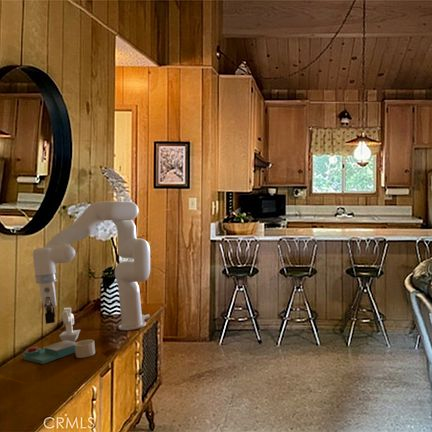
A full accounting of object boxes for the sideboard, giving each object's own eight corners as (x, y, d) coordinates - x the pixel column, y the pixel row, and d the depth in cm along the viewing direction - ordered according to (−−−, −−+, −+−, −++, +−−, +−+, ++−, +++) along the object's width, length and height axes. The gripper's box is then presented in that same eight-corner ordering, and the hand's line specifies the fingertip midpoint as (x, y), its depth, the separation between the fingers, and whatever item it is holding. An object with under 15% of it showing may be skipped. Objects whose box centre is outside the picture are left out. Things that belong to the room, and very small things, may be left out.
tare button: (34, 349, 201) (34, 345, 201) (39, 350, 199) (38, 346, 199) (26, 352, 198) (26, 348, 198) (31, 353, 196) (30, 349, 196)
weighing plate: (66, 348, 208) (65, 339, 208) (80, 351, 203) (79, 342, 203) (43, 355, 200) (42, 347, 200) (57, 359, 195) (56, 350, 194)
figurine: (81, 336, 224) (78, 304, 223) (76, 343, 214) (72, 309, 213) (65, 338, 222) (61, 306, 221) (58, 345, 213) (55, 311, 212)
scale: (59, 346, 211) (58, 339, 211) (79, 350, 203) (78, 343, 203) (22, 359, 198) (21, 351, 198) (42, 364, 190) (41, 356, 190)
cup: (88, 350, 203) (86, 338, 202) (99, 352, 199) (97, 340, 198) (72, 356, 197) (70, 344, 196) (83, 358, 193) (81, 346, 192)
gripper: (56, 280, 190) (60, 323, 191) (56, 274, 206) (60, 314, 207) (34, 283, 187) (39, 327, 188) (36, 276, 202) (40, 317, 204)
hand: (50, 320), depth 197 cm, fingers open, 9 cm apart
